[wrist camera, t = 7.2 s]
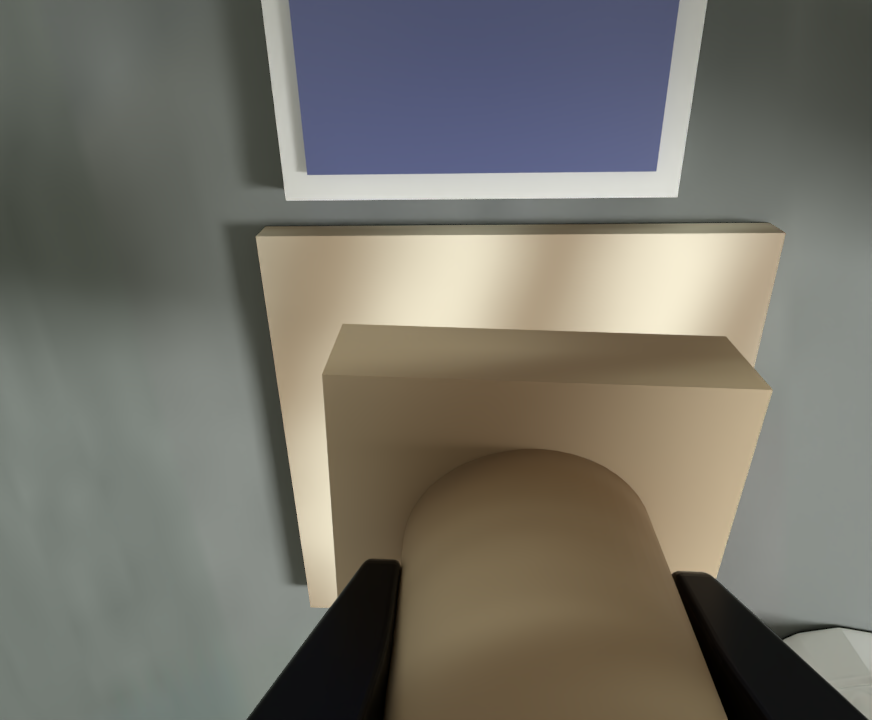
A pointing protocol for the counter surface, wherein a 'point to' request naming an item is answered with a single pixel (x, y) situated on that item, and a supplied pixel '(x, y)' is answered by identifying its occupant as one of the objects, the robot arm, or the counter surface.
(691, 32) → the ink pad
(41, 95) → the counter surface
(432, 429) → the stamp
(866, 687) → the white cup
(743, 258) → the board
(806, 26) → the counter surface
